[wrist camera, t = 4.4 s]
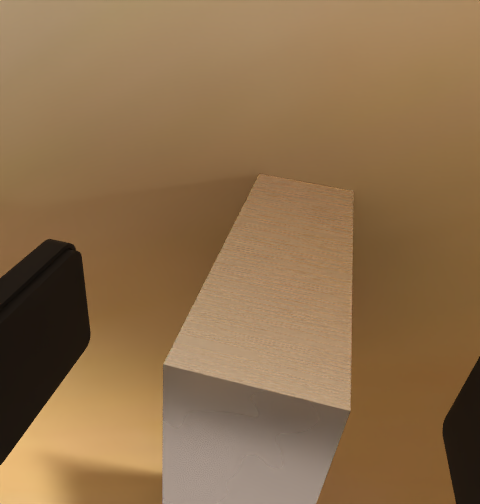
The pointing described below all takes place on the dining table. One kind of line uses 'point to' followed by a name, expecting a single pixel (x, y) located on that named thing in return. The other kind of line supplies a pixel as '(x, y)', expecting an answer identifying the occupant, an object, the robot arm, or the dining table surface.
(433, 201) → the dining table surface
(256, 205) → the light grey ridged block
